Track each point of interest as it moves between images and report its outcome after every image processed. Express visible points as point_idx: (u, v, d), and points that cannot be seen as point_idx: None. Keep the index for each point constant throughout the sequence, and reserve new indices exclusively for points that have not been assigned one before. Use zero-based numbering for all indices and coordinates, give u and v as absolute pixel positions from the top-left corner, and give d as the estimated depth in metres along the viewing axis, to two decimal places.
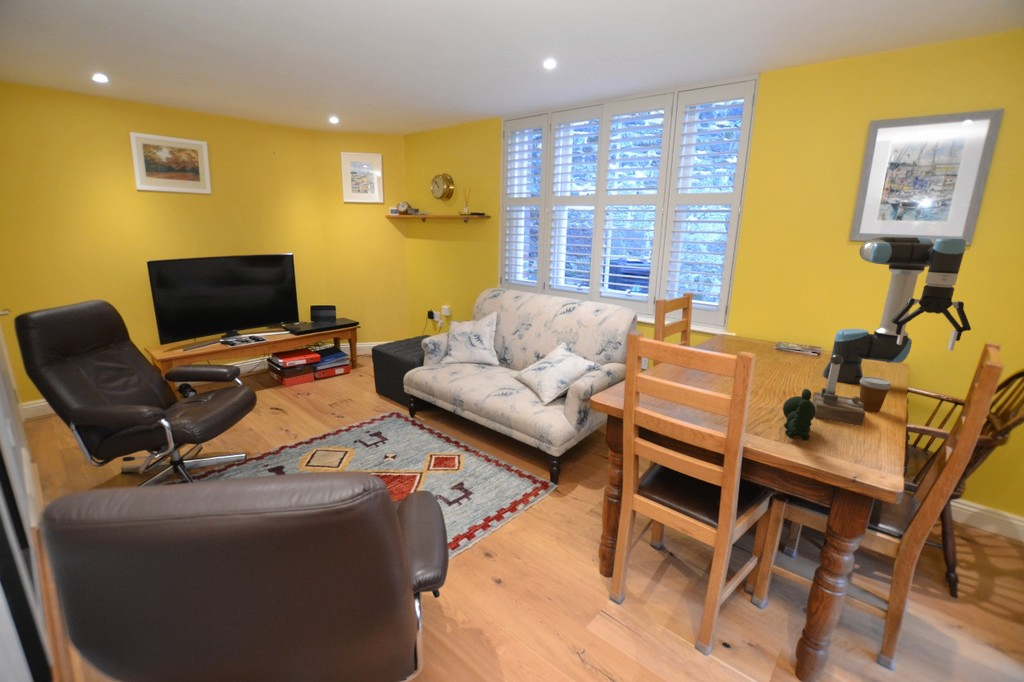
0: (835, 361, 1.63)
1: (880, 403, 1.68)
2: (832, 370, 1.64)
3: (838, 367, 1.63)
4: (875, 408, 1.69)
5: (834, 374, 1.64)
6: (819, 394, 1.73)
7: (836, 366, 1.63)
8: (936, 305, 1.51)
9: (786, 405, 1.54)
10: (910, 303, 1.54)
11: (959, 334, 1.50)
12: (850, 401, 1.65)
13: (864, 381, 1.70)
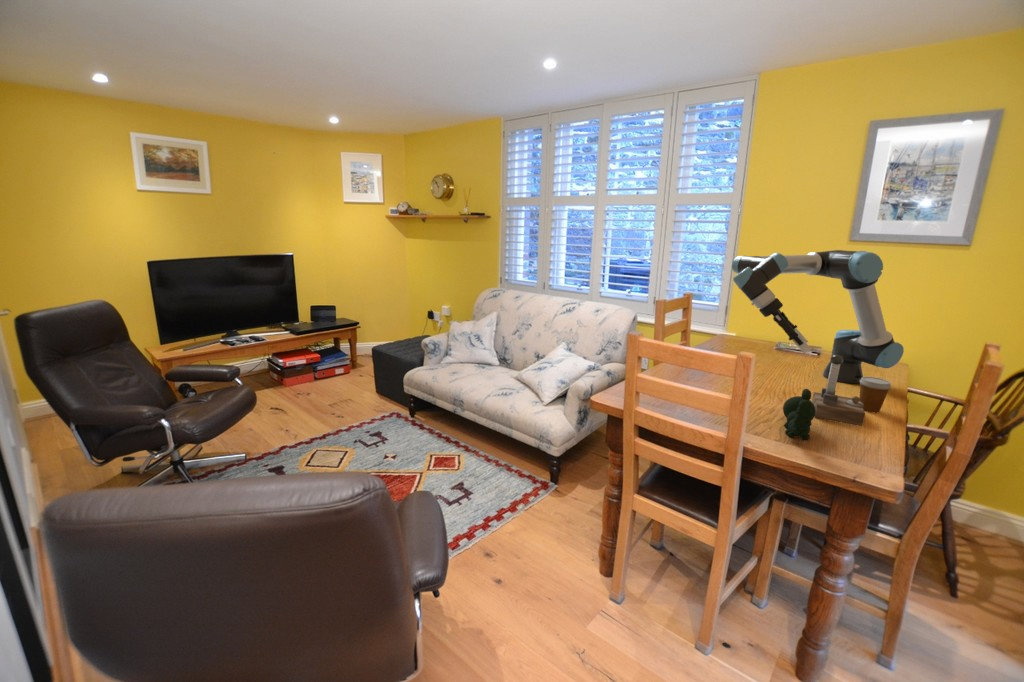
0: (835, 361, 1.63)
1: (880, 403, 1.68)
2: (832, 370, 1.64)
3: (838, 367, 1.63)
4: (875, 408, 1.69)
5: (834, 374, 1.64)
6: (819, 394, 1.73)
7: (836, 366, 1.63)
8: None
9: (786, 405, 1.54)
10: None
11: (795, 340, 1.62)
12: (850, 401, 1.65)
13: (864, 381, 1.70)
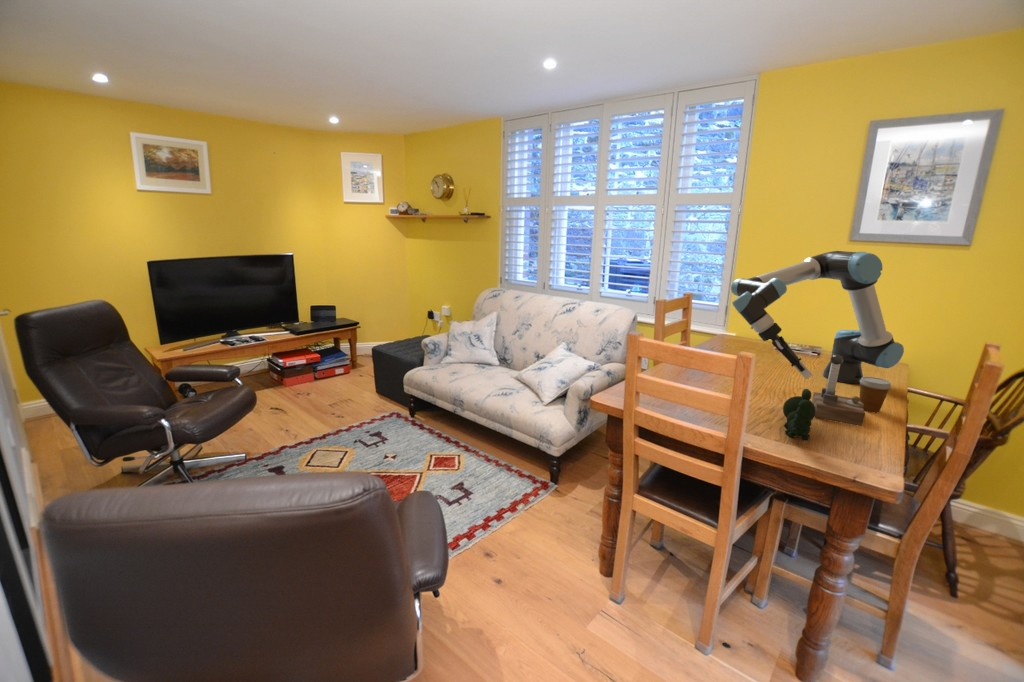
0: (835, 361, 1.63)
1: (880, 403, 1.68)
2: (832, 370, 1.64)
3: (838, 367, 1.63)
4: (875, 408, 1.69)
5: (834, 374, 1.64)
6: (819, 394, 1.73)
7: (836, 366, 1.63)
8: None
9: (786, 405, 1.54)
10: None
11: (797, 367, 1.69)
12: (850, 401, 1.65)
13: (864, 381, 1.70)
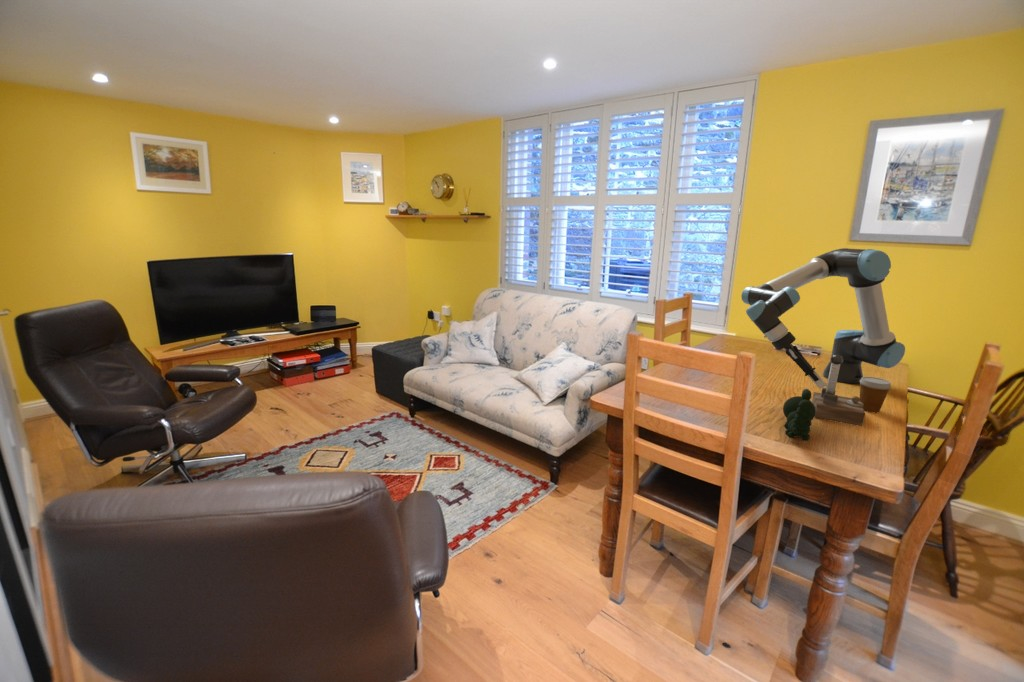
0: (835, 361, 1.63)
1: (880, 403, 1.68)
2: (832, 370, 1.64)
3: (838, 367, 1.63)
4: (875, 408, 1.69)
5: (834, 374, 1.64)
6: (819, 394, 1.73)
7: (836, 366, 1.63)
8: None
9: (786, 405, 1.54)
10: None
11: (811, 376, 1.67)
12: (850, 401, 1.65)
13: (864, 381, 1.70)
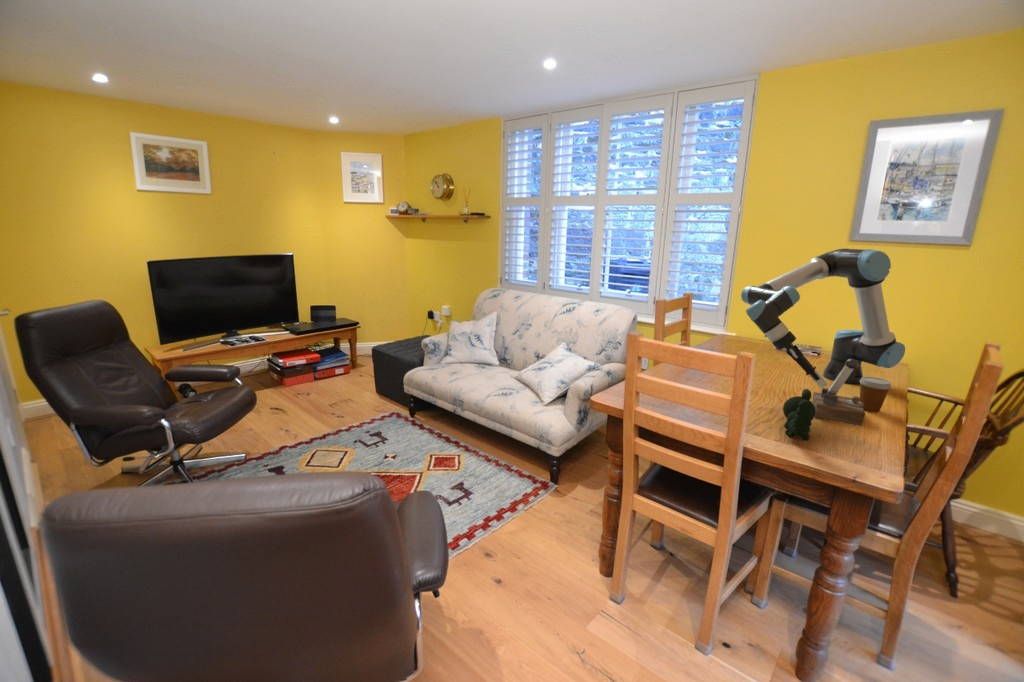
0: (850, 365, 1.61)
1: (880, 403, 1.68)
2: (843, 372, 1.62)
3: (850, 371, 1.61)
4: (875, 408, 1.69)
5: (843, 377, 1.63)
6: (819, 394, 1.73)
7: (848, 370, 1.62)
8: None
9: (786, 405, 1.54)
10: None
11: (812, 375, 1.67)
12: (850, 401, 1.65)
13: (864, 381, 1.70)
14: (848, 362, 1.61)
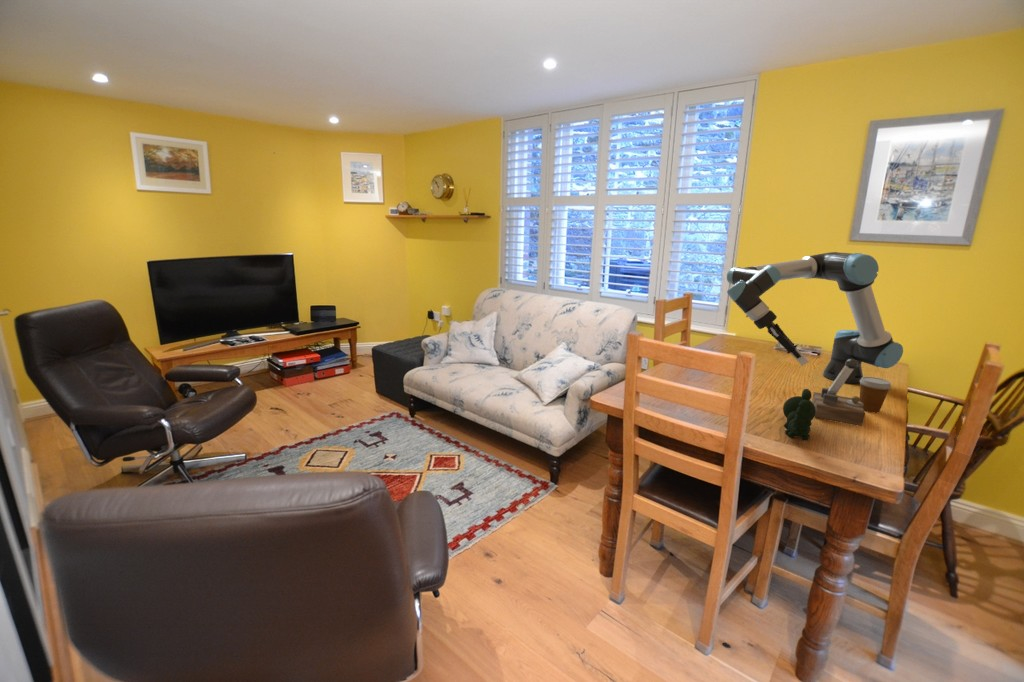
0: (850, 365, 1.61)
1: (880, 403, 1.68)
2: (843, 372, 1.62)
3: (850, 371, 1.61)
4: (875, 408, 1.69)
5: (843, 377, 1.63)
6: (819, 394, 1.73)
7: (848, 370, 1.62)
8: None
9: (786, 405, 1.54)
10: None
11: (793, 353, 1.69)
12: (850, 401, 1.65)
13: (864, 381, 1.70)
14: (848, 362, 1.61)
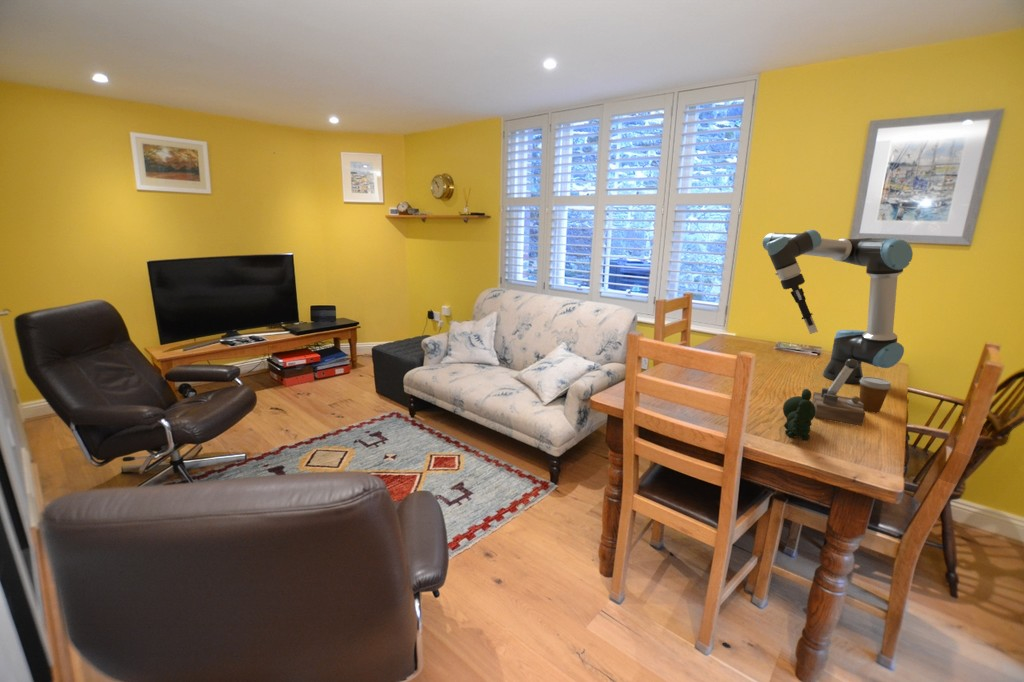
0: (850, 365, 1.61)
1: (880, 403, 1.68)
2: (843, 372, 1.62)
3: (850, 371, 1.61)
4: (875, 408, 1.69)
5: (843, 377, 1.63)
6: (819, 394, 1.73)
7: (848, 370, 1.62)
8: (793, 291, 1.74)
9: (786, 405, 1.54)
10: None
11: (806, 320, 1.73)
12: (850, 401, 1.65)
13: (864, 381, 1.70)
14: (848, 362, 1.61)
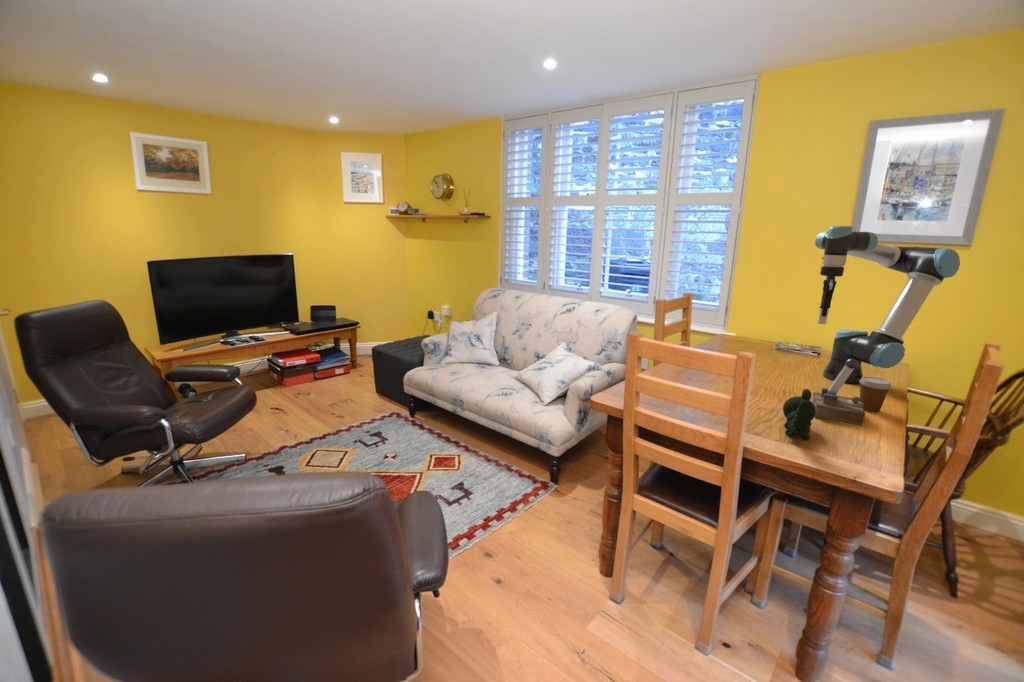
0: (850, 365, 1.61)
1: (880, 403, 1.68)
2: (843, 372, 1.62)
3: (850, 371, 1.61)
4: (875, 408, 1.69)
5: (843, 377, 1.63)
6: (819, 394, 1.73)
7: (848, 370, 1.62)
8: (826, 280, 1.81)
9: (786, 405, 1.54)
10: None
11: (822, 310, 1.82)
12: (850, 401, 1.65)
13: (864, 381, 1.70)
14: (848, 362, 1.61)
